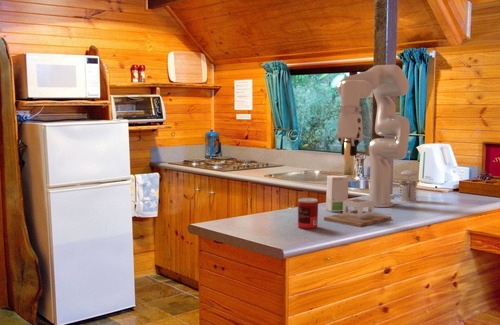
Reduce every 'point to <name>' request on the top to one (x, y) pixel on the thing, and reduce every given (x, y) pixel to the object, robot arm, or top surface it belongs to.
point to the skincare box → (336, 192)
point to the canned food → (307, 213)
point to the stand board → (356, 222)
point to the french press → (408, 187)
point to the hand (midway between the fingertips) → (349, 154)
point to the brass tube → (348, 157)
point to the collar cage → (358, 208)
